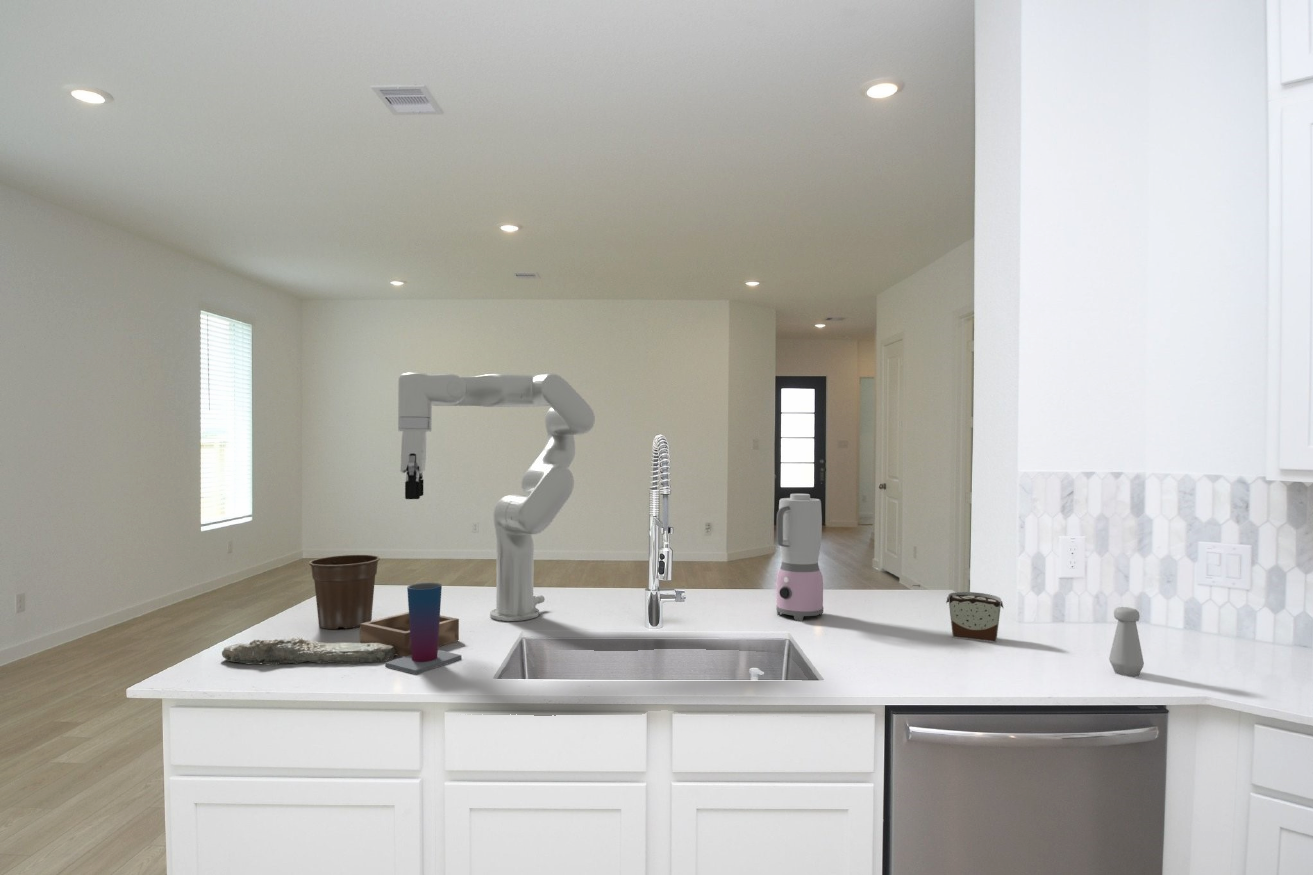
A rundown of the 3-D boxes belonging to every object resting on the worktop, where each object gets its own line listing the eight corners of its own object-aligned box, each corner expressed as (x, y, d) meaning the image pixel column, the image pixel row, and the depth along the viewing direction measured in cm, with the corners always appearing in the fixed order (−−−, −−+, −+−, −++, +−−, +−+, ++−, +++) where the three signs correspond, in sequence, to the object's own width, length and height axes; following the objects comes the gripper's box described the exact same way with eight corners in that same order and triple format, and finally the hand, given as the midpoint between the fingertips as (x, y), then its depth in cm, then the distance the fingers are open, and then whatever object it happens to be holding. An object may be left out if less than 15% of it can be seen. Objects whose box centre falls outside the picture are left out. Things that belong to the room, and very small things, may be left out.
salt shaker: (1102, 668, 149) (1102, 604, 149) (1129, 668, 149) (1129, 604, 149) (1123, 678, 143) (1123, 611, 143) (1150, 677, 144) (1150, 611, 144)
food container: (1003, 636, 173) (1003, 594, 173) (1003, 643, 168) (1003, 599, 168) (947, 630, 178) (947, 589, 178) (945, 636, 173) (946, 594, 173)
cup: (431, 664, 147) (431, 589, 147) (400, 662, 148) (400, 588, 148) (447, 654, 154) (447, 583, 154) (417, 652, 155) (417, 581, 155)
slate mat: (432, 652, 158) (432, 648, 158) (461, 658, 154) (461, 655, 154) (385, 666, 148) (385, 662, 148) (415, 674, 143) (415, 670, 143)
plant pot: (293, 628, 178) (293, 561, 178) (344, 613, 193) (344, 552, 193) (344, 635, 172) (345, 566, 172) (393, 619, 187) (393, 556, 187)
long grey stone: (385, 673, 149) (400, 661, 159) (387, 647, 149) (402, 636, 159) (209, 665, 147) (235, 653, 157) (212, 639, 148) (238, 629, 158)
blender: (795, 607, 202) (795, 491, 202) (833, 615, 193) (833, 494, 193) (758, 616, 192) (759, 494, 192) (796, 625, 183) (797, 497, 183)
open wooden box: (414, 631, 175) (414, 610, 175) (458, 640, 167) (458, 618, 167) (360, 646, 163) (360, 623, 163) (405, 657, 155) (405, 633, 155)
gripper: (402, 425, 181) (401, 494, 181) (393, 424, 164) (393, 500, 164) (433, 426, 183) (433, 494, 183) (428, 424, 166) (428, 500, 166)
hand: (414, 497), depth 173 cm, fingers open, 9 cm apart
